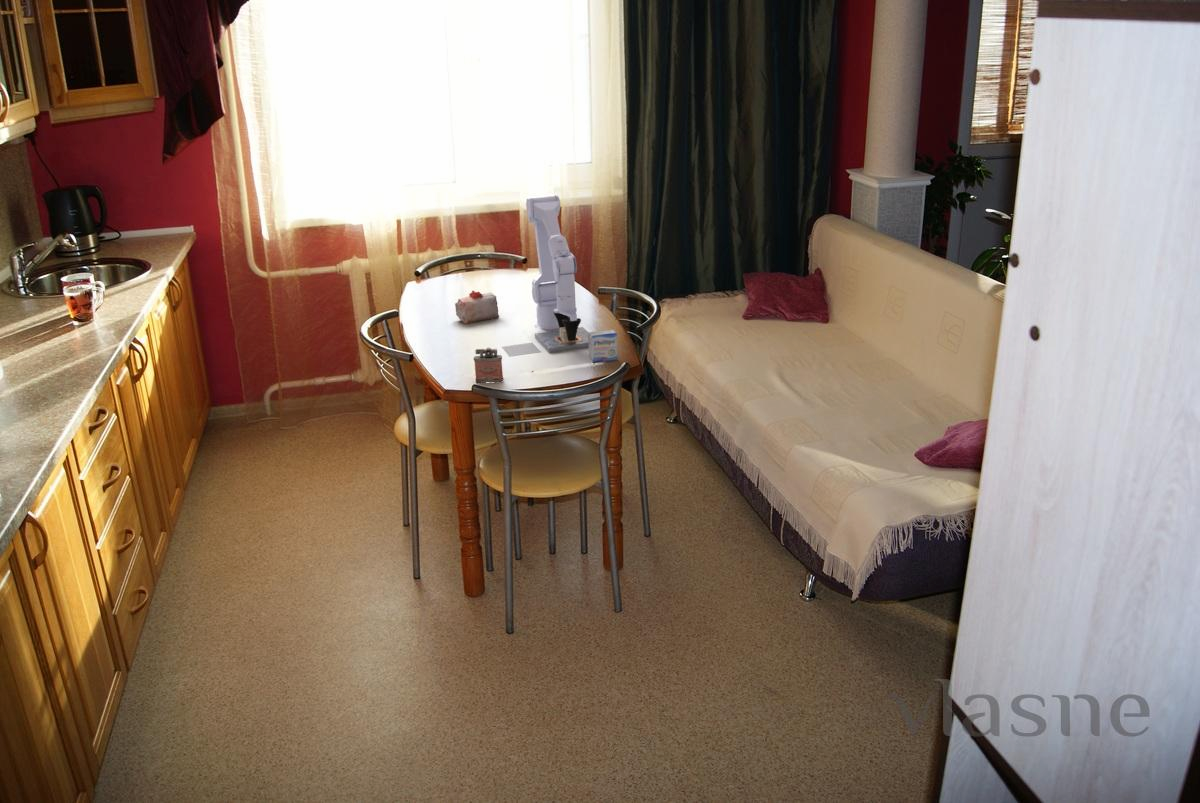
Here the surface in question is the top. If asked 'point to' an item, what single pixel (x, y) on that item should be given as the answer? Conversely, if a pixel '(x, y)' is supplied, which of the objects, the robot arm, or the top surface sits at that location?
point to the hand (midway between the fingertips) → (568, 336)
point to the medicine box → (603, 345)
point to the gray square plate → (521, 349)
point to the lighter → (488, 366)
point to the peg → (563, 335)
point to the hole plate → (555, 345)
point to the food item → (477, 307)
